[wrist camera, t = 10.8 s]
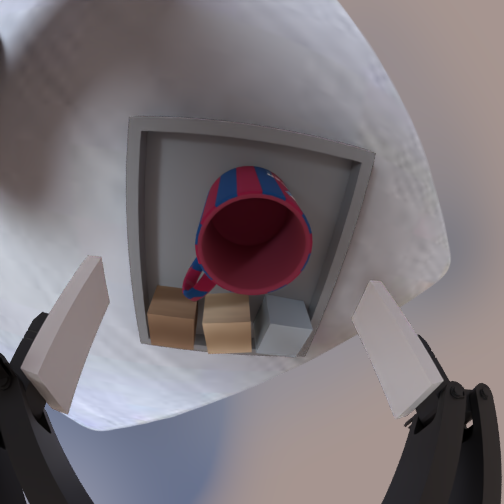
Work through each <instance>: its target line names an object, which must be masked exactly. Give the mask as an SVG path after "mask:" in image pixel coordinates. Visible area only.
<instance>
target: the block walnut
mask: <svg viewBox="0 0 504 504" xmlns="http://www.w3.org/2000/svg"><path fill="white" fill-rule="evenodd" d="M197 315H198V301H195V302H194V301H191V300H189V299H187V298H186V297H185V296H184V295H183V293H182V288H177V287H168V286H160V285H157V287H156V290H155V292H154V295H153V298H152V301H151V304H150V306H149V309H148V312H147V317H148V324H149V332H150V339H151V345H158V346H165V347H172V348H180V349H188V350H194V342H195V334H196V326H197Z"/></svg>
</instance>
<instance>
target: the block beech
mask: <svg viewBox="0 0 504 504" xmlns="http://www.w3.org/2000/svg"><path fill="white" fill-rule="evenodd" d="M202 325H203V330H204V335H205V340H206V345H207V350H208V354H219V353H246V352H252V347H251V319H250V307H249V295H243V294H237V293H217V294H207V295H206V296H205V304H204V312H203V321H202Z"/></svg>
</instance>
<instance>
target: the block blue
mask: <svg viewBox="0 0 504 504" xmlns="http://www.w3.org/2000/svg"><path fill="white" fill-rule="evenodd" d="M253 326H254V336H255V347H256V353H260V354H268V355H276V356H285V357H296V356H297V354H298V353H299V351H300V350H301V348H302V347H303V345H304V343H305V342H306V340H307V339H308V337H309V335H310V334H311V332H312V330H313V328H312V325H311V322H310V319H309V316H308V313H307V310H306V307H305V303H304V301H300V300H294V299H289V298H283V297H278V296H273V295H268V294H266V295H265V297H264V299H263V302H262V304H261V306H260V309H259V311H258V314H257V316H256V318H255V321H254V323H253Z"/></svg>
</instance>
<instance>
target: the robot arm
mask: <svg viewBox="0 0 504 504" xmlns="http://www.w3.org/2000/svg"><path fill="white" fill-rule="evenodd" d="M109 303H110V301H109V296H108V291H107V286H106V281H105V275H104V269H103V263H102V257H98V256H89V255H88V256H87V257H86V258H85V260H84V261H83V263H82V264H81V265H80V267H79V268H78V270H77V271H76V273H75V274H74V275H73V277H72V278H71V280H70V281H69V283H68V284H67V286H66V287H65V289H64V290H63V292H62V294H61V295H60V297H59V298H58V300H57V301H56V303H55V305H54V306H53V308H52V310H51V311H50V313H49V314H48V313H44V312H42V313H41V314H39V315H38V316H37V317H36V318H35V319H34V320H33V321H32V323H31V325H30V327H29V328H28V331H27V332H26V334H25V335H24V339H22V341H21V343H20V344H19V346H18V348H17V350H16V352H15V354H14V356H13V358H12V360H11V362H10V364H9V363H8V361H7V360H6V358H5V357H4V356H3V355H2V354H1V353H0V504H26V501H25V497H24V494H23V491H24V493H25V495H26V497H27V499H28V501H29V503H30V504H94V503H93V501H92V500H91V498H90V497H89V495H88V494H87V492H86V491H85V489H84V487H83V486H82V484H81V483H80V481H79V479H78V477H77V476H76V474H75V472H74V470H73V468H72V467H71V465H70V463H69V461H68V459H67V457H66V455H65V453H64V451H63V449H62V447H61V445H60V443H59V441H58V438H57V436H56V434H55V432H54V429H53V427H52V424H51V422H50V420H49V417H48V414H47V412H46V410H45V409H44V407H45V404H46V402H47V403H48V404H49V406H50V407H51V408H52V409H54V410H57V411H59V412H62V413H65V414H68V413H69V409H70V406H71V403H72V399H73V396H74V393H75V390H76V387H77V384H78V381H79V378H80V375H81V372H82V369H83V367H84V364H85V361H86V358H87V356H88V353H89V350H90V348H91V345H92V343H93V340H94V338H95V335H96V333H97V330H98V328H99V326H100V323H101V321H102V319H103V316H104V314H105V312H106V310H107V307H108V305H109ZM351 320H352V322H353V324H354V326H355V328H356V330H357V333H358V335H359V337H360V339H361V341H362V343H363V345H364V348H365V350H366V352H367V354H368V356H369V359H370V361H371V363H372V365H373V368H374V370H375V372H376V375H377V377H378V379H379V382H380V384H381V386H382V388H383V391H384V393H385V396H386V398H387V401H388V403H389V406H390V408H391V410H392V413H393V416H394V418H395V419H398V418H402V417H405V416H408V415H409V414H410V413H411V412H412V411H413V410H414V409H416V412H417V414H415V415H414V416H413V417H412V418H411V419H410V420H408V421H407V422H406V423H405V425H404V426H405V427H406V426H407V425H409V424H410V423H411V422H412V424H411V425H410V426H409V429H410V431H409V434H408V438H407V441H406V444H405V447H404V450H403V453H402V456H401V459H400V461H399V464H398V467H397V469H396V472H395V474H394V477H393V479H392V482H391V484H390V486H389V489H388V491H387V493H386V495H385V497H384V500H383V502H382V504H501V480H502V479H501V478H502V476H501V451H500V441H499V431H498V423H497V417H496V411H495V405H494V400H493V395H492V393H491V390H490V388H489V387H488V386H487V385H486V384H483V383H479V384H478V385H477V386H476V387H475V388H474V389H473V390H466V389H464V388H463V387H462V385H461V384H459V383H458V382H454V381H451V382H450V381H449V379H448V378H447V376H446V374H445V372H444V371H443V369H442V367H441V365H440V364H439V362H438V360H437V358H435V355H434V353H433V352H432V351H431V348H430V347H429V345H428V344H427V342H426V341H425V340H424V339H423V338H422V337H421V336H420V335H417V334H416V332H415V331H414V329H413V328H412V326H411V325H410V323H409V321H408V320H407V318H406V317H405V315H404V314H403V312H402V311H401V309H400V308H399V306H398V305H397V303H396V302H395V300H394V299H393V297H392V296H391V294H390V293H389V291H388V290H387V289H386V287H385V286H384V284H383V283H382V281H375V280H370V281H369V283H368V285H367V287H366V289H365V292H364V294H363V296H362V298H361V300H360V302H359V304H358V306H357V308H356V310H355V312H354V314H353V316H352V318H351ZM472 419H473V425H472V426H471V427H469V428H467V427H466V424H467V423H468V422H469V421H471V420H472ZM22 489H23V490H22Z"/></svg>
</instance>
